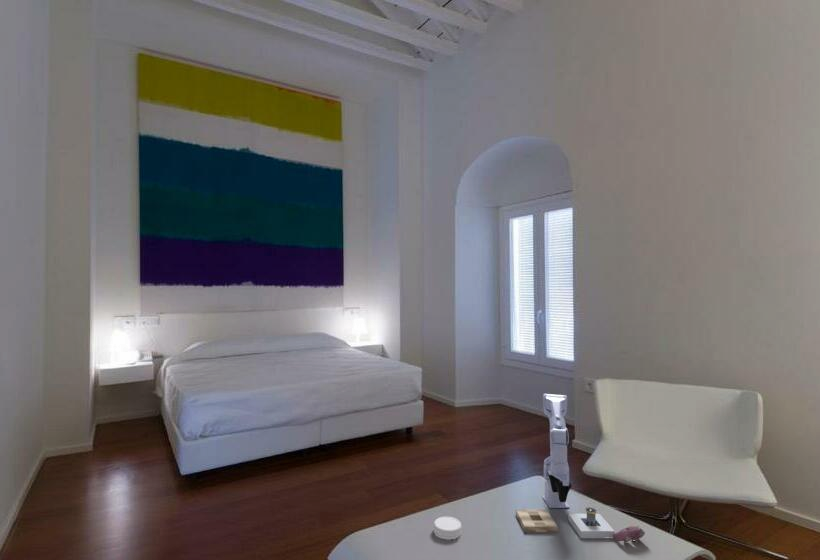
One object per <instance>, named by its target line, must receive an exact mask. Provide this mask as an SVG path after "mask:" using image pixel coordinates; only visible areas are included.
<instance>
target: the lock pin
mask: <svg viewBox="0 0 820 560" xmlns="http://www.w3.org/2000/svg"><path fill="white" fill-rule="evenodd" d="M585 512H586V514H587V525H586V526H596V523H595V514H597V510H596V508H594V507H591V506H588V507H585Z"/></svg>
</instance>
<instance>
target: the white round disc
mask: <svg viewBox="0 0 820 560" xmlns="http://www.w3.org/2000/svg"><path fill="white" fill-rule="evenodd" d="M434 533H435V534H434ZM433 534H434V535H435V536H436V537H437V538H439V539H441V538H442V540H444V539H446V540H445V541H451V539H453V540H456V538H457V539H459V538H460V537H461V535H462V523H461V521H460V520H459V519H458V518H455V517H453V516H440V517H438V518H436V519H435V520H434V522H433ZM459 536H460V537H459Z"/></svg>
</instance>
